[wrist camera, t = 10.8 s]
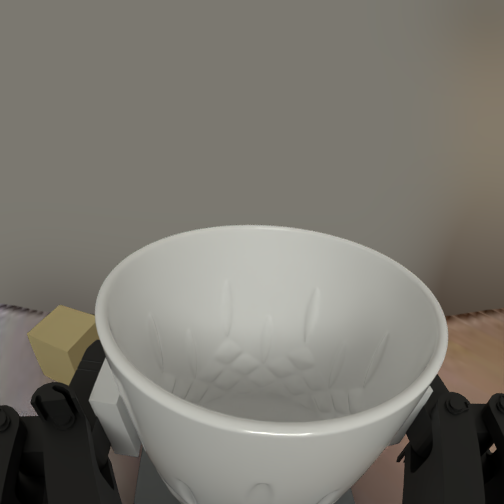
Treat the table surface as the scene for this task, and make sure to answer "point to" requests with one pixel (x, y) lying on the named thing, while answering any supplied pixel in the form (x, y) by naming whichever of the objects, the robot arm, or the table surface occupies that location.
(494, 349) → the table surface
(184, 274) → the white cup
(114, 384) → the robot arm
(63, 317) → the mustard block
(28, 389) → the table surface
